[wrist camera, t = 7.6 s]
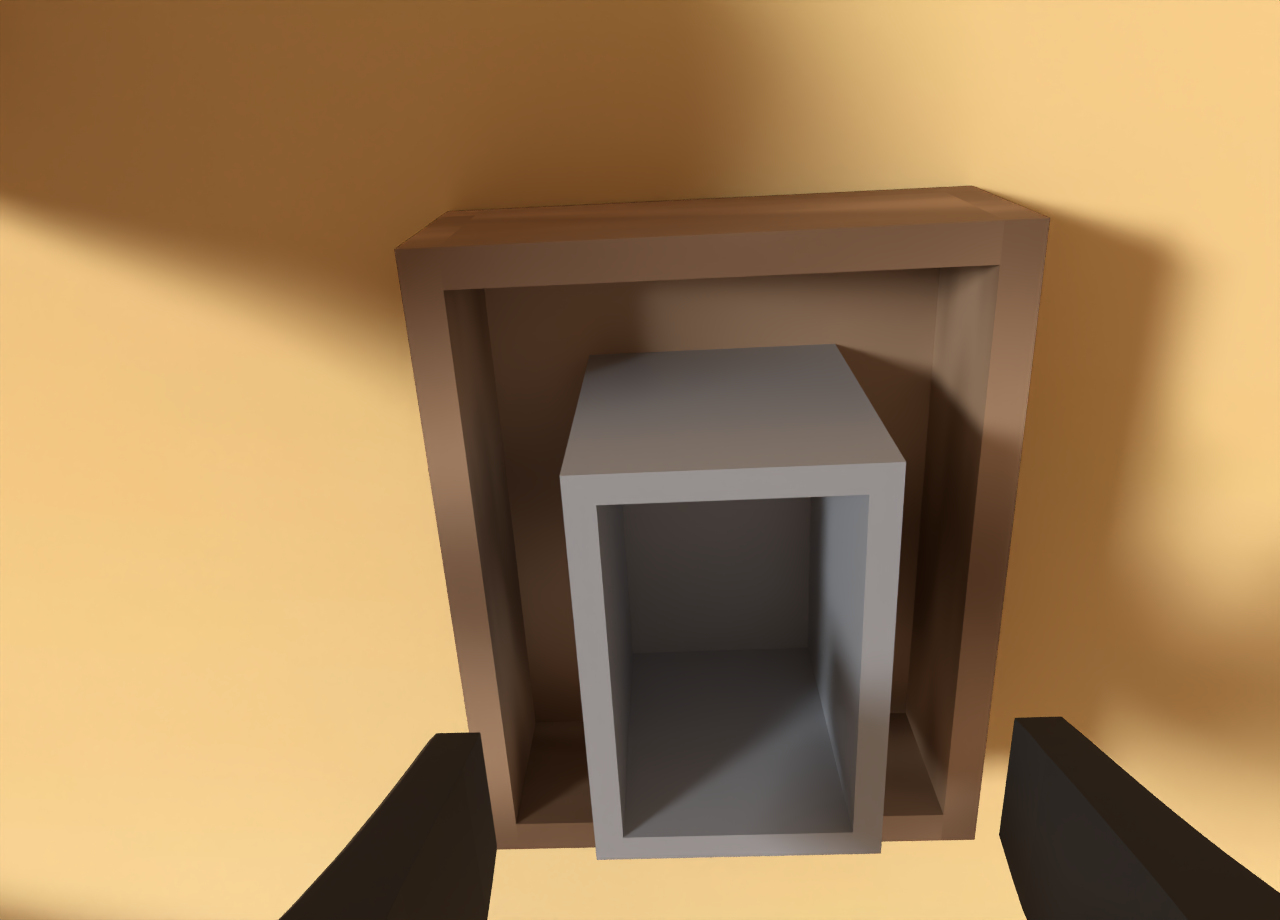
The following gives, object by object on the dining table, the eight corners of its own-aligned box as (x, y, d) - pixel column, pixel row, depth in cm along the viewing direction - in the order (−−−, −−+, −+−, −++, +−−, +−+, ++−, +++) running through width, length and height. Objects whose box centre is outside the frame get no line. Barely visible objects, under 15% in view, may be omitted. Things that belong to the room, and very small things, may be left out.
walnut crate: (925, 716, 23) (974, 839, 20) (514, 727, 24) (487, 849, 20) (971, 185, 18) (1049, 218, 15) (447, 211, 19) (394, 249, 15)
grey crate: (825, 652, 22) (881, 853, 16) (613, 659, 22) (596, 859, 16) (835, 343, 19) (906, 461, 13) (589, 355, 19) (559, 475, 14)
